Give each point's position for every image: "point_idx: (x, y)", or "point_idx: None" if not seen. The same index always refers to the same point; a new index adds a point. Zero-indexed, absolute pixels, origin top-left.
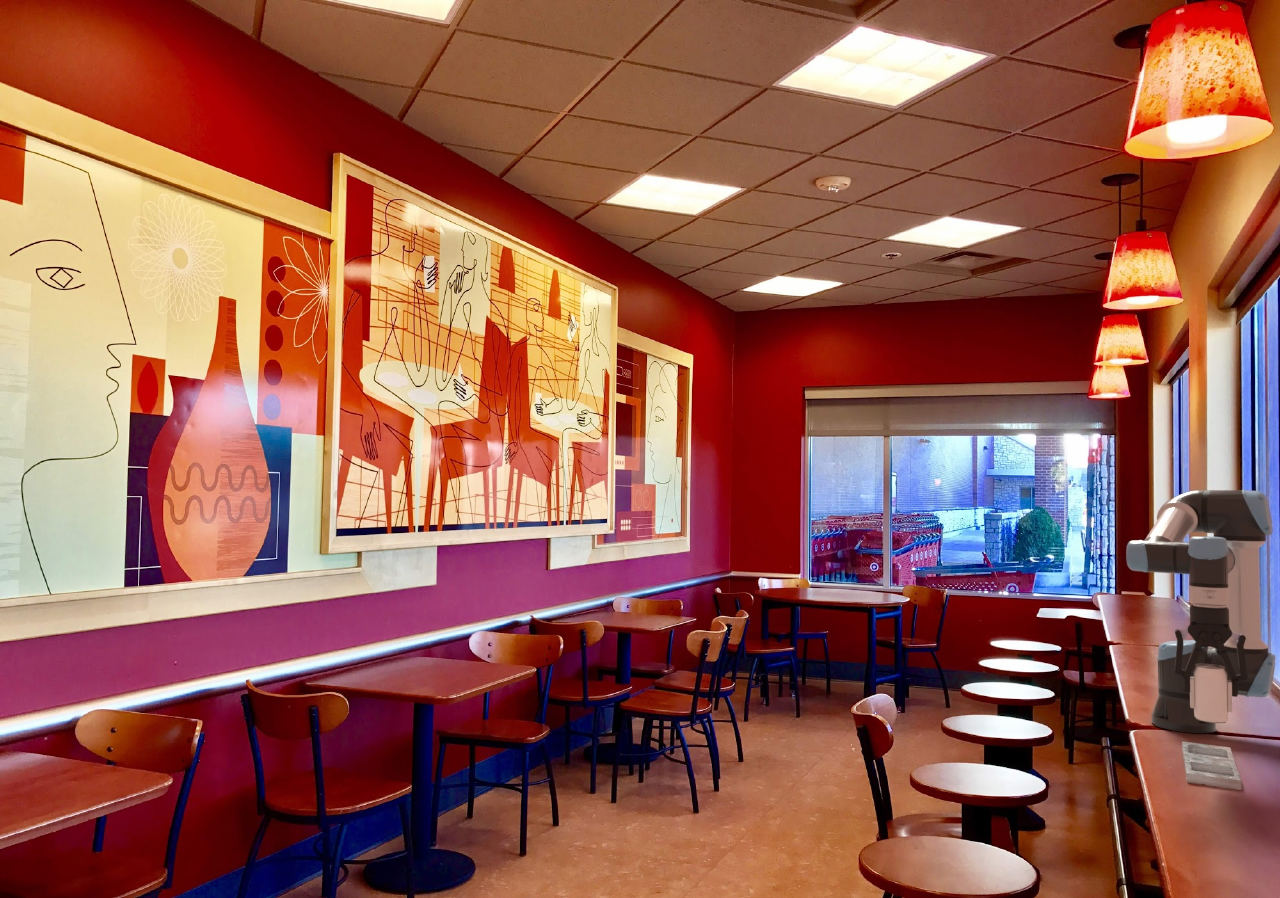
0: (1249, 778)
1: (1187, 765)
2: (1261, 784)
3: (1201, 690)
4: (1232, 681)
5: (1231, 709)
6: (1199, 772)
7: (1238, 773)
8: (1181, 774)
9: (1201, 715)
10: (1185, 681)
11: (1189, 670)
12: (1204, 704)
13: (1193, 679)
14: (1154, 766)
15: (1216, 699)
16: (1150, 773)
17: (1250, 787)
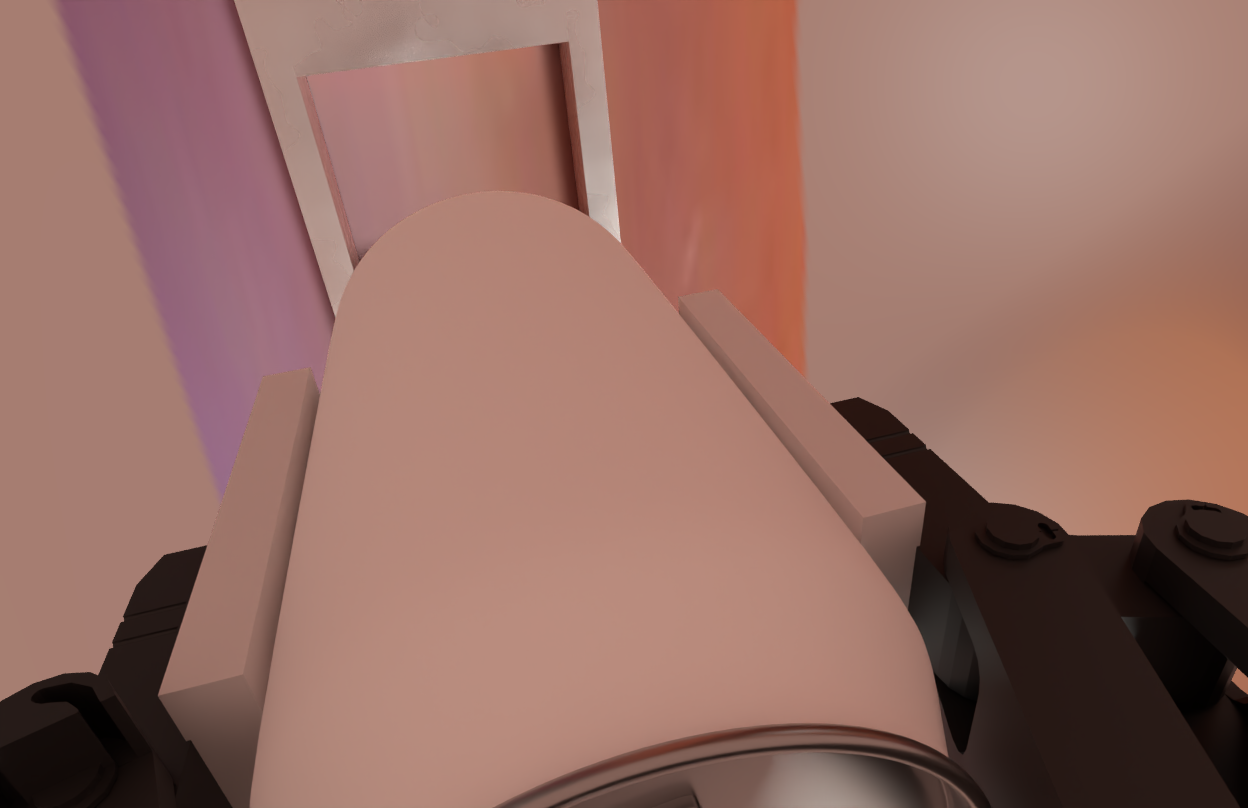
0: (277, 323)
1: (602, 165)
2: (180, 231)
3: (677, 349)
4: (106, 692)
5: (266, 389)
6: (516, 11)
7: (294, 182)
8: (620, 129)
9: (588, 223)
10: (946, 485)
11: (1050, 630)
12: (583, 255)
13: (868, 507)
14: (760, 209)
15: (430, 309)
16: (783, 14)
17: (211, 97)
